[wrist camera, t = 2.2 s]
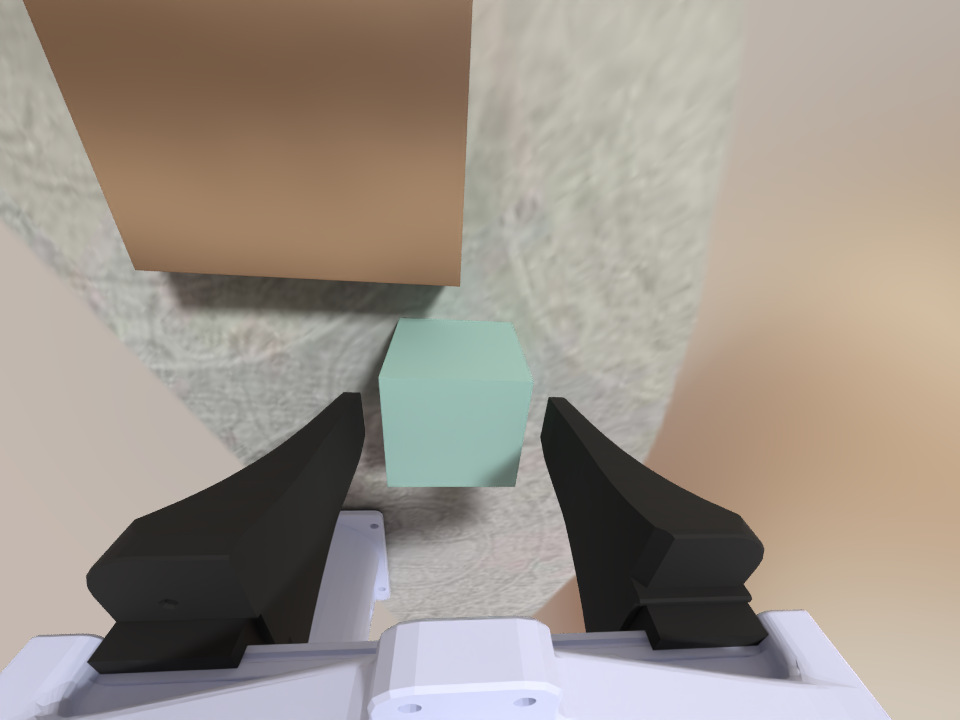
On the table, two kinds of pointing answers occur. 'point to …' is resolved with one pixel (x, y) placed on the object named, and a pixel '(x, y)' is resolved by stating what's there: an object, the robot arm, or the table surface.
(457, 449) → the teal cube
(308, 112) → the walnut base
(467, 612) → the table surface
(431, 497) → the table surface
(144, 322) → the table surface
